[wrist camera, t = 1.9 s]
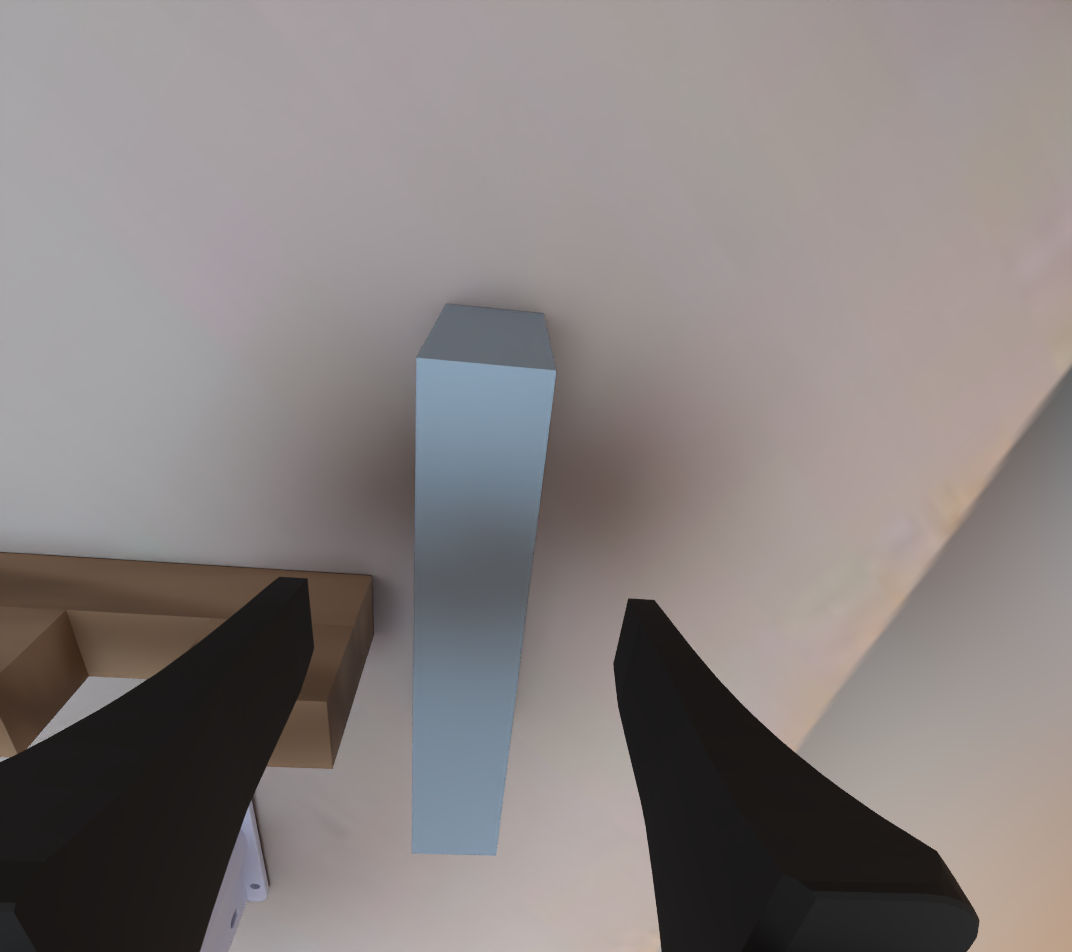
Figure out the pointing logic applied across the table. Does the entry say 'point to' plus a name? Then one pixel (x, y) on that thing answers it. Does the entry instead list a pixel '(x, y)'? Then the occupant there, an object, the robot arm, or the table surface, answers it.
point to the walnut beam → (164, 638)
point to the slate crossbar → (473, 561)
